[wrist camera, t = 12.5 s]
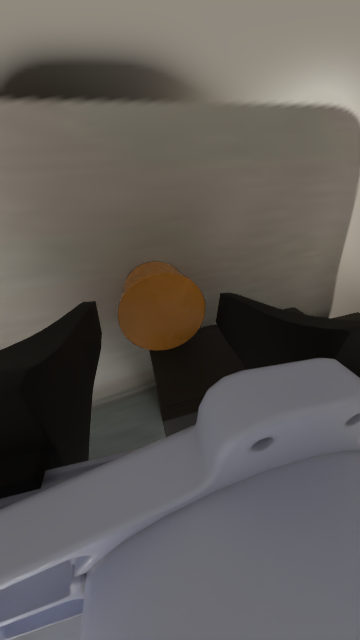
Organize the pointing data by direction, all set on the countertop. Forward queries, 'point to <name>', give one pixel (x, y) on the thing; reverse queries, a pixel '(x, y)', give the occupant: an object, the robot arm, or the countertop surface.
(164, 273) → the cylinder
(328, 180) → the countertop surface
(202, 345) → the black drawer unit
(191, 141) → the countertop surface
